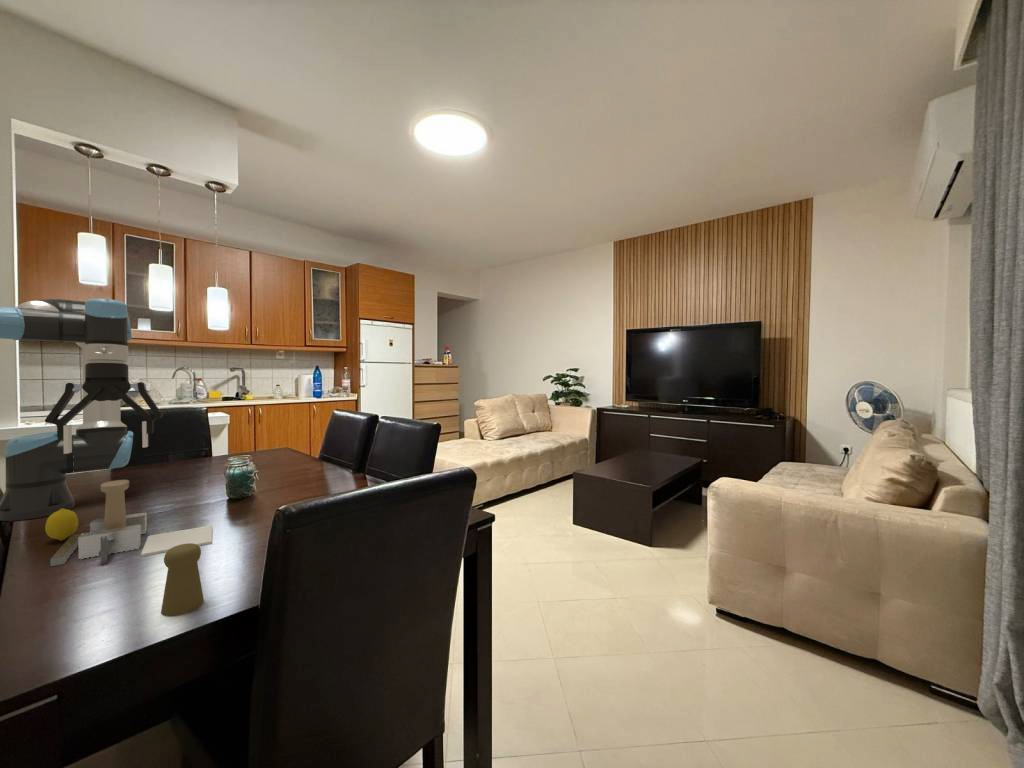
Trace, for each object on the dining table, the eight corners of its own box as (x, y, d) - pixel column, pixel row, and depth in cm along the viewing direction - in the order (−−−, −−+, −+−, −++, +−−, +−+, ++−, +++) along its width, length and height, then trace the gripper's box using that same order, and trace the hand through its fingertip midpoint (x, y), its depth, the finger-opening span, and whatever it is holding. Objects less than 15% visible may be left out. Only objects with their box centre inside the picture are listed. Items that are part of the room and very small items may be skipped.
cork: (177, 598, 77) (177, 539, 76) (211, 597, 77) (211, 539, 77) (151, 617, 70) (151, 553, 70) (189, 615, 71) (188, 553, 71)
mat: (148, 538, 104) (148, 535, 104) (212, 527, 111) (212, 525, 111) (140, 556, 93) (140, 554, 93) (211, 543, 101) (211, 541, 101)
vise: (71, 545, 101) (71, 517, 101) (147, 533, 109) (147, 507, 109) (42, 581, 84) (41, 547, 84) (134, 563, 92) (134, 532, 92)
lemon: (82, 538, 103) (82, 507, 103) (50, 546, 98) (50, 513, 98) (72, 534, 105) (72, 503, 105) (41, 542, 100) (40, 510, 100)
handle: (98, 551, 96) (98, 487, 95) (104, 542, 101) (103, 481, 101) (126, 546, 99) (126, 484, 98) (130, 537, 104) (130, 478, 103)
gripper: (24, 360, 90) (24, 457, 89) (171, 362, 104) (172, 445, 104) (37, 363, 96) (37, 454, 96) (174, 364, 110) (175, 443, 110)
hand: (108, 450), depth 100 cm, fingers open, 13 cm apart
